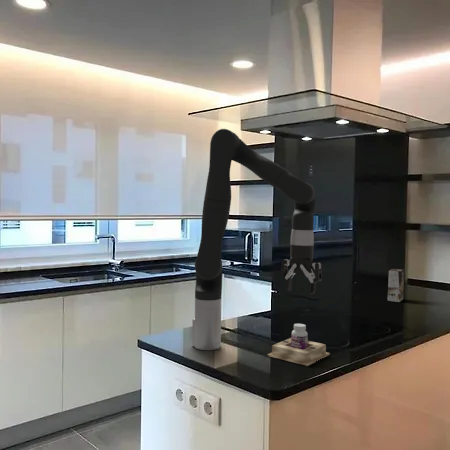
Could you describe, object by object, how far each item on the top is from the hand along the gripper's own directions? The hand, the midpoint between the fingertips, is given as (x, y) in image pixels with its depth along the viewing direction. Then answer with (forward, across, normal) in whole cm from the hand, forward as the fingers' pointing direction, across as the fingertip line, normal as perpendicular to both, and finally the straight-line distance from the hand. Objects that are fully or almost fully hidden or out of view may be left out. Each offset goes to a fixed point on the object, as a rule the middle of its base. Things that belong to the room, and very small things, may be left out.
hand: (300, 292), depth 163 cm
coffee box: (+21, +9, -116) cm, 118 cm away
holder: (+21, 0, 0) cm, 21 cm away
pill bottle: (+21, 0, 0) cm, 21 cm away
